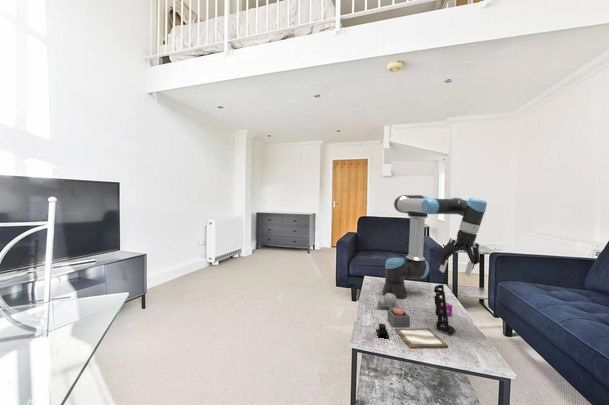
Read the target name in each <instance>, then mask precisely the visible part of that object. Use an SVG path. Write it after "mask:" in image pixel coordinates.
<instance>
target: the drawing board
mask: <svg viewBox="0 0 609 405" xmlns="http://www.w3.org/2000/svg"><path fill="white" fill-rule="evenodd" d="M395 332H396V333H397V335H398V336H399V337H400V338H401V340H403V342H404V344H405V345H406V346H407V347H408V348H409V349H448V348H449V345H448V344H447V342H444V341H443V340H442V338H440V337H439V336H438V335H437V334H436V333H435V332H433V330H431V329H430V328H426V327H424V328H418V327H417V328H395Z"/></svg>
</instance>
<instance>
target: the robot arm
mask: <svg viewBox="0 0 609 405" xmlns="http://www.w3.org/2000/svg"><path fill="white" fill-rule="evenodd" d="M393 202H394V203H393V206H394V209H395V210H396V211H397V212H398V213H402V214H407V216H408V218H409V238H408V239H409V240H408V255H406V257H405V258H404V257H390V258H387V259H386V260H385V266H384V268H385V273H384V274H385V277H384V280H385V281H384V283H383V284H384V285H383V288H382V292H381V294H382V295H383V296H384V295H385V294H387V293H392V294H394V295H395V296H396V298H397V300H399V299H406V298H407V297H408V291H407V288H406V286H405V280H406V279H409V280H410V279H418V280H419V279H425V278H426V277H427V276H428V274H429V272H430V266H429V262H428V261H427V260H426V258H425V257H424V245H425V244H424V243H425V242H424V240H425V239H424V238H425V221H426V219H427V218H428V215H458V216H462V218H461V221H460V224H459V230H458V232H457V234H456V239H453V238H450V239H449V240H448V242H447V244H446V245H445V246H444V247H443V248H442V250H440V252H439V253H438V256H439V257H440V258H441V259H440V262H439V264H440V266H439V271H440V272H442V273H445V272H446V269H447V264H448V262H449V258H450V257H451V256H452V255H454V254H455V253H456V252H459V251H460V252H461V251H462V252H466V254H467V257H468V258H469V261H468V262H467V264H466V269H465V271H464V275H466V276H468V277H471V274H472V271H473V269H474V268H475V265H478V264H480V263H481V259H480V258H481V257H480V250H479V248H480V244H479V243H477V242H476V239H477V236H478V235H477V234H478V233H479V230H480V228H481V224H482V221H483V218H484V215H485V213H486V211H487V210H486V209H487V205H488V203H487V201H486V200H483V199H480V198H479V199H478V198H474V197H469V198H468V199H467V200H466V199H463V198H461V197H460V198H459V197H451V198H429V196H427V195H423V194H422V195H421V194H420V195H419V194H414V195H413V194H412V195H411V194H408V195H407V194H403V195H400V196H399V195H398V197H396V198H395V200H394V201H393Z"/></svg>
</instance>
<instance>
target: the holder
mask: <svg viewBox="0 0 609 405" xmlns="http://www.w3.org/2000/svg"><path fill="white" fill-rule="evenodd" d="M444 290H445V288H444V284H438V285H435V286H434V288H433V292H434V293H435V295H434V298H433V299H434V306H435V307H436V306H437V309H436V308H435V311H434V312H435V315H436V316H437V321H436V323H435V324H436V328H437V330H438V331H442V332H443V333H446V334H447V335H448V336H452V335H453V334H454V333H455V332H456V328H455V327H453V326H452V325H450V323H449V318H448V317H449V316H447V308H446V303H447V302H446V294H445V291H444ZM441 303H443V306H442V305H441ZM441 310H443V313H441ZM442 325H444V326H442Z"/></svg>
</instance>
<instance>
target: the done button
mask: <svg viewBox="0 0 609 405" xmlns="http://www.w3.org/2000/svg"><path fill="white" fill-rule="evenodd" d="M404 311H405V310H404V308H403V307H400V306H399V307H394V308H393V314H394V315H395V316H404Z"/></svg>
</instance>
